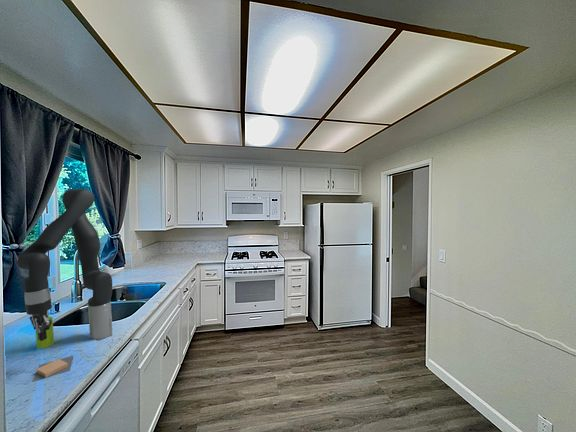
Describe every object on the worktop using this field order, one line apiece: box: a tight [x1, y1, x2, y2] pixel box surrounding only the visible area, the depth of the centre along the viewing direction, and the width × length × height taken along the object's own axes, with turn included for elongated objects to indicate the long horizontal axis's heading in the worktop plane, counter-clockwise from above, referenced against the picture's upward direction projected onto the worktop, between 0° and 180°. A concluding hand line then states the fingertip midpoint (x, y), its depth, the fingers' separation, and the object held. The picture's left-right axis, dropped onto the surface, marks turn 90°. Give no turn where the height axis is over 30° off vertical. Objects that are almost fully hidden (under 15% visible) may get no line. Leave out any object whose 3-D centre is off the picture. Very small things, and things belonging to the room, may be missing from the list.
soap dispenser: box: [35, 310, 55, 350], centre depth 118 cm, size 6×7×20 cm
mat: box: [31, 355, 74, 383], centre depth 103 cm, size 11×12×1 cm
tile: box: [36, 358, 68, 378], centre depth 102 cm, size 2×7×7 cm
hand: (42, 339), depth 105 cm, fingers closed
